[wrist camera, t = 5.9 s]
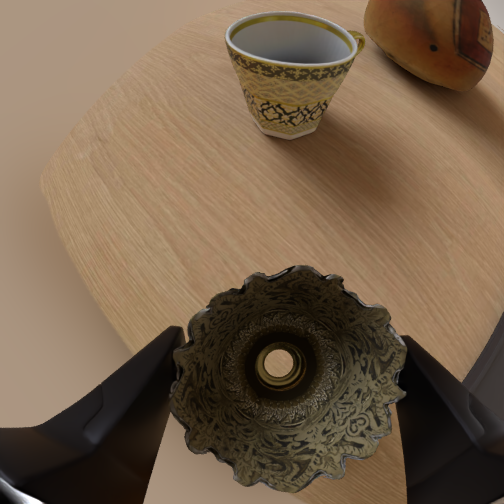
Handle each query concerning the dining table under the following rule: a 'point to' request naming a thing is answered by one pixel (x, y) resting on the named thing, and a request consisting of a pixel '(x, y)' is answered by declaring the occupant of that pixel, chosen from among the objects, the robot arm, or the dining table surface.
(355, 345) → the cup
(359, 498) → the dining table surface
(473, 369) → the dark gray tray
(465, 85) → the ceramic pitcher
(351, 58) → the ceramic cup
